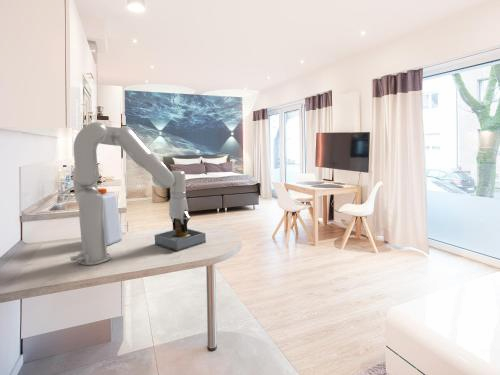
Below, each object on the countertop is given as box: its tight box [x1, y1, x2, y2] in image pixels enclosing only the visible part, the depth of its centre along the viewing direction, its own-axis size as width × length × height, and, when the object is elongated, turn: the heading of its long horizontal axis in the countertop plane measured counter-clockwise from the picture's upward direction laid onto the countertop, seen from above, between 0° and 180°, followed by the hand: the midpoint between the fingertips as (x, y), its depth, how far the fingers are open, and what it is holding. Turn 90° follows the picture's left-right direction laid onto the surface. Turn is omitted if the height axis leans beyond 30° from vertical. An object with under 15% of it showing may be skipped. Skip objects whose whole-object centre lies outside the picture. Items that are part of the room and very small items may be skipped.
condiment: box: [170, 217, 191, 239], centre depth 160 cm, size 7×8×12 cm
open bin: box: [154, 228, 207, 253], centre depth 161 cm, size 18×18×5 cm
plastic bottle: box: [98, 187, 123, 247], centre depth 163 cm, size 15×15×28 cm
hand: (179, 230), depth 160 cm, fingers closed on condiment, 6 cm apart
